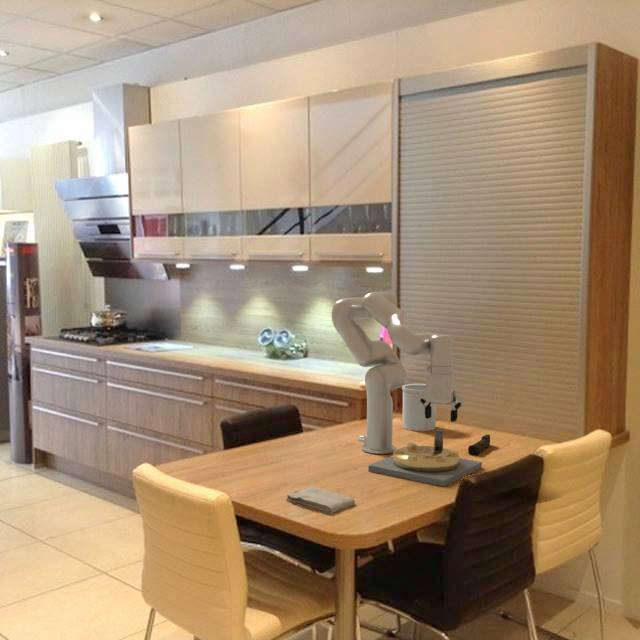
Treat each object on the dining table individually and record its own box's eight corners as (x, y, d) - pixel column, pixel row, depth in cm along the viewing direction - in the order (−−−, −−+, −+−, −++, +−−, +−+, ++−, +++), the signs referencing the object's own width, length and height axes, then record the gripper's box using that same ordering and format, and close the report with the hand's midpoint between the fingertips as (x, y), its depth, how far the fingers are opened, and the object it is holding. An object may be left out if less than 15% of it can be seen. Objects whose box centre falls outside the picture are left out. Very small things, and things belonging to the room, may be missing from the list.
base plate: (368, 471, 258) (368, 464, 258) (410, 454, 280) (410, 448, 280) (443, 486, 241) (443, 479, 241) (481, 467, 264) (481, 461, 264)
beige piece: (439, 475, 245) (440, 446, 244) (380, 463, 258) (381, 436, 257) (469, 461, 263) (470, 434, 262) (413, 451, 276) (414, 425, 275)
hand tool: (478, 456, 279) (478, 444, 279) (467, 455, 281) (468, 442, 281) (496, 446, 295) (496, 434, 295) (486, 445, 297) (486, 433, 297)
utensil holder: (439, 432, 317) (440, 389, 316) (403, 431, 317) (404, 389, 315) (433, 424, 332) (434, 383, 330) (399, 423, 332) (400, 383, 330)
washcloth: (309, 493, 234) (309, 483, 234) (356, 506, 223) (357, 495, 223) (283, 502, 225) (283, 492, 225) (331, 516, 214) (331, 505, 214)
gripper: (413, 369, 267) (413, 418, 268) (459, 373, 257) (458, 424, 258) (424, 367, 273) (423, 415, 274) (469, 371, 263) (468, 420, 264)
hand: (440, 419), depth 266 cm, fingers open, 9 cm apart
